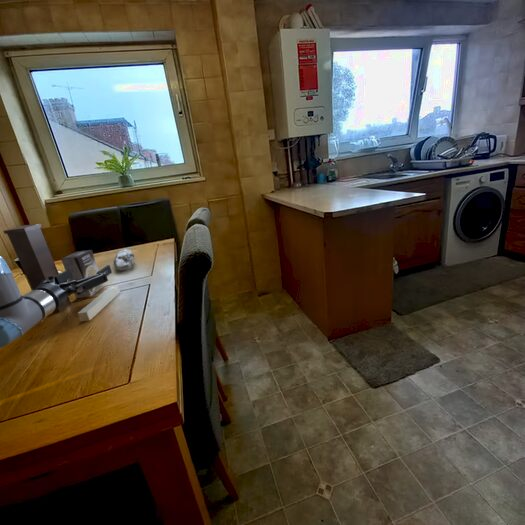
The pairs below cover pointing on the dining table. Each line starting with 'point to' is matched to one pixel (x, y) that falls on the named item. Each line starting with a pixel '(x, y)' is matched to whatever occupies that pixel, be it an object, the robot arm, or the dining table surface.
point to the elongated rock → (124, 259)
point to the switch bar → (98, 303)
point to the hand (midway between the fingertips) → (90, 270)
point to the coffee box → (82, 269)
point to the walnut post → (34, 255)
